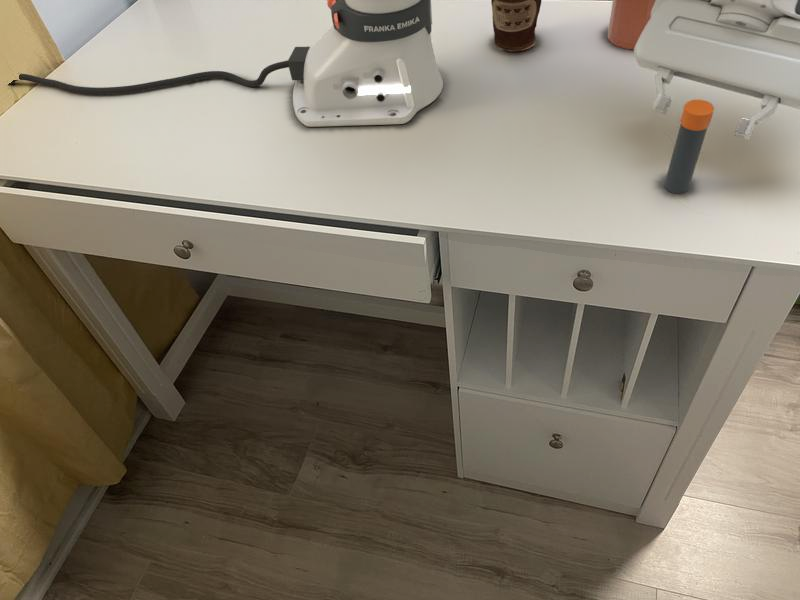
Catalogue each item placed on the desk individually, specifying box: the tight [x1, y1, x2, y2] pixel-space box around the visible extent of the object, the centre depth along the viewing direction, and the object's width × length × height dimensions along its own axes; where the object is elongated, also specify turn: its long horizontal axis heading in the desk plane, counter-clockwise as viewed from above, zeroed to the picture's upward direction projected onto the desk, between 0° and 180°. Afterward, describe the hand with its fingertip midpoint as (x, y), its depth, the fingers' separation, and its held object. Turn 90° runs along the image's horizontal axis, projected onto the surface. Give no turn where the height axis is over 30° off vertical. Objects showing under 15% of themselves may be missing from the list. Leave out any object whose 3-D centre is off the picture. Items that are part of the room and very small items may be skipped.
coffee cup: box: [490, 0, 542, 52], centre depth 100 cm, size 9×8×13 cm
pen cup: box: [607, 0, 656, 50], centre depth 99 cm, size 8×8×10 cm
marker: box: [663, 99, 715, 195], centre depth 76 cm, size 3×3×11 cm
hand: (698, 124), depth 75 cm, fingers open, 8 cm apart
